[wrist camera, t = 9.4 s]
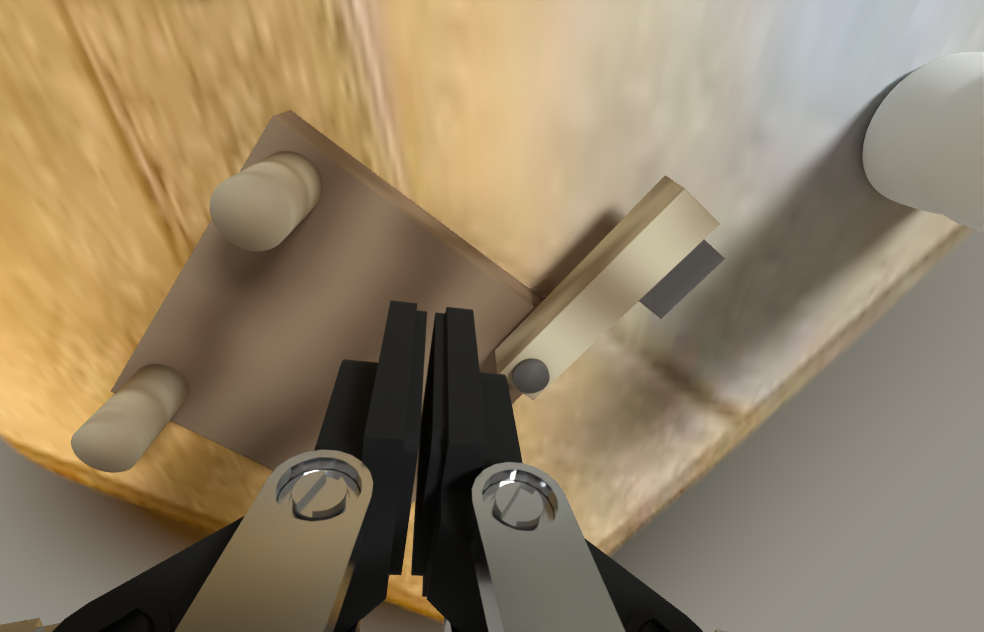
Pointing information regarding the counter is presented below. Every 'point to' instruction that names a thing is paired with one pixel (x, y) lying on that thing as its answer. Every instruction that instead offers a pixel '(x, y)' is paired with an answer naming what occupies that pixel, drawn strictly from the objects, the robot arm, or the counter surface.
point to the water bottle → (933, 140)
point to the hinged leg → (604, 286)
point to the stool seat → (304, 304)
